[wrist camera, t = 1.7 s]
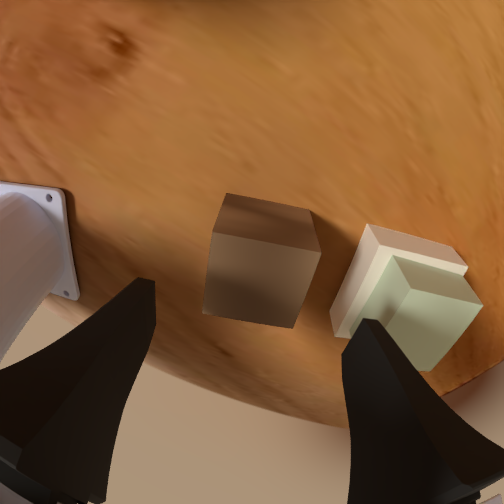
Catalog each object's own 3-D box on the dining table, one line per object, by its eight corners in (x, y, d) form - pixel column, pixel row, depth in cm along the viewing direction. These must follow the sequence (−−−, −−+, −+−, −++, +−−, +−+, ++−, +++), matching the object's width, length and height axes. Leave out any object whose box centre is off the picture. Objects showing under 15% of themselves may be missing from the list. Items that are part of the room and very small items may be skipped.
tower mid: (349, 330, 15) (357, 366, 13) (392, 254, 13) (410, 288, 10) (417, 339, 16) (430, 371, 13) (462, 275, 13) (483, 305, 11)
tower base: (328, 306, 18) (334, 336, 16) (364, 219, 14) (379, 244, 12) (406, 317, 18) (418, 344, 16) (448, 243, 15) (468, 267, 13)
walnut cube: (215, 261, 16) (202, 313, 13) (226, 192, 14) (212, 232, 10) (288, 275, 16) (292, 328, 13) (309, 208, 14) (321, 252, 11)
